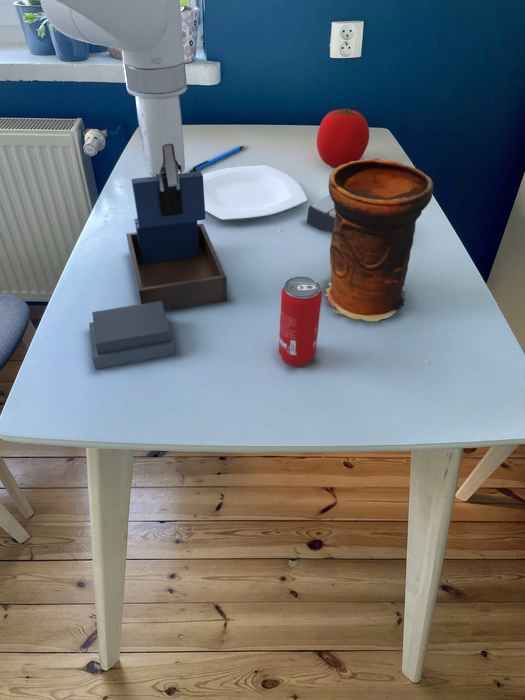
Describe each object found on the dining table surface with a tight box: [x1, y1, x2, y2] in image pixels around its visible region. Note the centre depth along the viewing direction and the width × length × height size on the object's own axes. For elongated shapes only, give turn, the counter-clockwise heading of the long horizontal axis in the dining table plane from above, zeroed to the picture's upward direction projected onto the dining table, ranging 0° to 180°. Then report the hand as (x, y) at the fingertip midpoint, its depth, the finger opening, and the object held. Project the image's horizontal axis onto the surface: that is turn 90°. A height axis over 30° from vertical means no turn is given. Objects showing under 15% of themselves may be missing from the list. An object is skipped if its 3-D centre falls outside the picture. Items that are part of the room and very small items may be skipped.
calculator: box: [306, 194, 336, 233], centre depth 103 cm, size 11×4×15 cm
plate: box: [202, 164, 309, 221], centre depth 112 cm, size 23×23×2 cm
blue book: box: [131, 170, 207, 228], centre depth 79 cm, size 10×2×7 cm, turn 107°
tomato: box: [316, 108, 370, 169], centre depth 122 cm, size 12×12×13 cm
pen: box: [189, 145, 245, 172], centre depth 127 cm, size 1×19×1 cm, turn 143°
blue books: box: [133, 217, 200, 265], centre depth 92 cm, size 10×3×7 cm, turn 107°
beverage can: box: [278, 276, 323, 368], centre depth 72 cm, size 5×5×12 cm
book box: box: [125, 223, 228, 312], centre depth 89 cm, size 13×17×5 cm
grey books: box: [88, 301, 176, 370], centre depth 77 cm, size 11×8×4 cm
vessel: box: [324, 157, 434, 322], centre depth 81 cm, size 14×14×20 cm
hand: (170, 209), depth 80 cm, fingers closed on blue book, 1 cm apart
